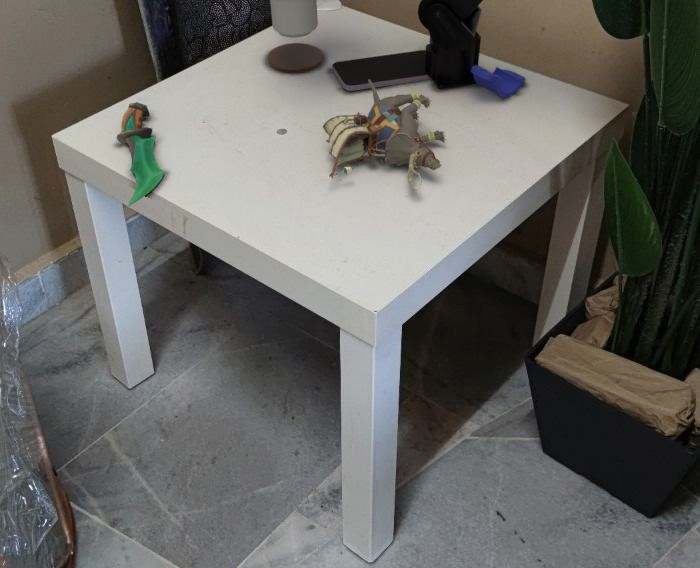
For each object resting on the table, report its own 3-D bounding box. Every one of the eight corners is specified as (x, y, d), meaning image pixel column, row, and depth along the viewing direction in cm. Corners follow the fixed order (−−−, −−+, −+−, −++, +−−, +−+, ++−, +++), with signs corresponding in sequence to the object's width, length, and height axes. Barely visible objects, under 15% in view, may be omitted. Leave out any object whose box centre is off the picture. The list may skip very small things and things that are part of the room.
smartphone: (447, 72, 128) (345, 87, 124) (447, 79, 129) (345, 94, 125) (428, 48, 133) (329, 62, 129) (427, 55, 134) (329, 69, 130)
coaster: (315, 43, 136) (315, 39, 135) (329, 68, 130) (329, 64, 130) (262, 50, 134) (262, 47, 134) (274, 76, 129) (274, 73, 128)
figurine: (483, 138, 107) (359, 183, 100) (478, 179, 111) (358, 225, 105) (392, 58, 119) (276, 94, 113) (390, 97, 123) (278, 134, 117)
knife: (151, 110, 122) (112, 111, 121) (150, 98, 121) (111, 100, 119) (170, 210, 107) (126, 213, 106) (169, 197, 106) (125, 201, 105)
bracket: (532, 81, 125) (525, 99, 127) (507, 68, 128) (500, 86, 129) (490, 77, 119) (483, 95, 120) (465, 63, 122) (458, 81, 123)
